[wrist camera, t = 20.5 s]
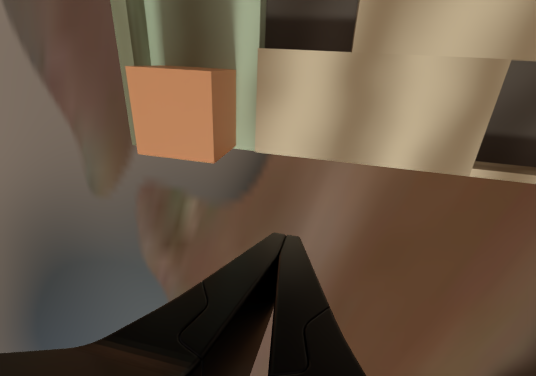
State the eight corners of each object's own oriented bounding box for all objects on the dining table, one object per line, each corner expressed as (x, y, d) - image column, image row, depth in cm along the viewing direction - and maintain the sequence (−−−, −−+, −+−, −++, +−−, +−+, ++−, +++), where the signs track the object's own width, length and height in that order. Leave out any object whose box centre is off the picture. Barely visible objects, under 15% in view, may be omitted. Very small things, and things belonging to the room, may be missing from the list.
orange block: (236, 69, 18) (211, 71, 15) (236, 145, 20) (214, 163, 17) (164, 65, 19) (124, 66, 16) (171, 138, 21) (138, 153, 18)
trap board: (848, -100, 12) (1032, -158, 9) (658, 187, 17) (729, 215, 14) (137, -72, 18) (94, -101, 15) (160, 133, 23) (132, 144, 20)
